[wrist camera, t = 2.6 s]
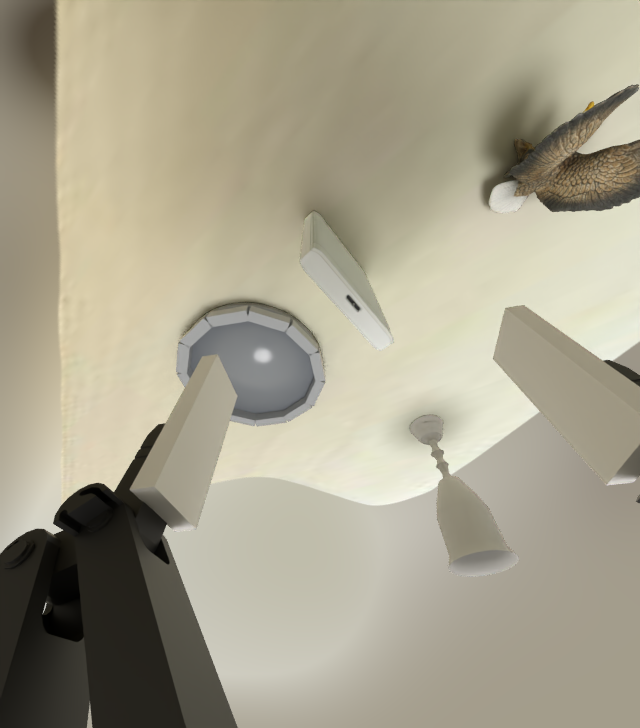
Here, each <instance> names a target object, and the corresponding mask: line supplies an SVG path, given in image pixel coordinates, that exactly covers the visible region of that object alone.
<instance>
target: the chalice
mask: <svg viewBox="0 0 640 728" xmlns="http://www.w3.org/2000/svg"><path fill="white" fill-rule="evenodd" d="M410 432H411V433H412V434H413V435H414V436H415V437H416V438H417V439H418V440H419V441H420V442H421V443H423V444H427V445H430V446H431V447H432V453H431V456H432V457H434V458H435V459H436V460H437V466H436V467H437V468H438V469H439V470H440V471H441V473H442V474H443V479H442V480H440V482H439V484H438V494H437V520H438V523H439V526H440V529H441V532H442V535H443V538H444V541H445V544H446V547H447V550H448V553H449V570H450V572H452V573H453V574H455V575H460V576H469V577H470V576H471V577H473V576H484V575H490V574H494V573H498V572H501V571H504V570H506V569H509V568H511V567H512V566H514V565H515V564H516V563H517V562H518V560H519V557H518V555H517V554H516V553H515V552H513V550H511V549H510V548H509V547H508V546H507V544H506V542H505V540H504V538H503V536H502V534H501V532H500V530H499V528H498V526H497V524H496V522H495V520H494V518H493V516H492V514H491V511H490V509H489V508H488V506H487V505H486V504H485V503H484V502H483V501H482V500H481V499H480V497H479V496H478V495H477V494H476V493H475V492H474V491H473V490H472V489H471V488H469V487H468V486H467V485H466V484H465V483H464V482H463V481H462V480H461V479H460V478H458V477H456V476H451V475H450V474H449V471H448V465H449V464H448V463H447V462H445V460H444V459H443V454H444V451H443V450H440V448H439V447H438V445H437V442H439V441H440V440H441V438H442V436H443V420H442V419H441V418H440V417H438V416H435V415H425V416H422V417H419V418H417V419H416V420H414V421H413V422H412V424H411V425H410Z"/></svg>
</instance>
